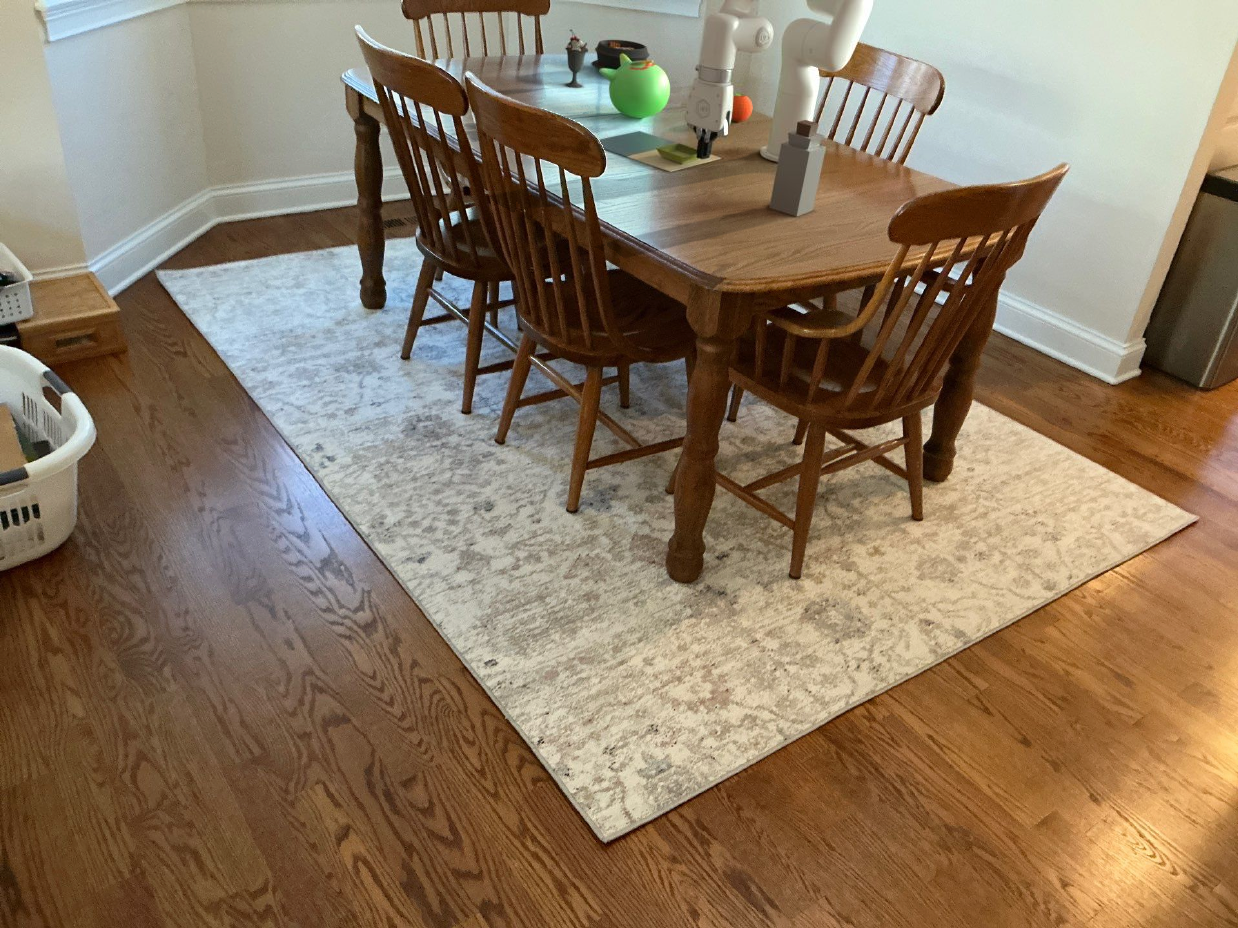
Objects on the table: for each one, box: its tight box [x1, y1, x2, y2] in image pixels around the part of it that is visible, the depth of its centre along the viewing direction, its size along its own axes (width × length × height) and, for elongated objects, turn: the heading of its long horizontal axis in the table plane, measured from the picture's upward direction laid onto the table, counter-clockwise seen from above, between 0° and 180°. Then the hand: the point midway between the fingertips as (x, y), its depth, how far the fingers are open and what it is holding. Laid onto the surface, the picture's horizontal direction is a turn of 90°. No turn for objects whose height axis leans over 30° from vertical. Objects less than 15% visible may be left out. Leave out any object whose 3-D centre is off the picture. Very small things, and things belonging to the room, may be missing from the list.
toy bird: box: [598, 54, 671, 119], centre depth 259 cm, size 18×17×15 cm
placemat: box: [598, 130, 722, 173], centre depth 236 cm, size 26×20×1 cm
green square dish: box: [656, 142, 700, 164], centre depth 232 cm, size 9×9×2 cm
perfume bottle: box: [768, 120, 827, 217], centre depth 204 cm, size 7×7×18 cm
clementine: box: [731, 93, 753, 123], centre depth 267 cm, size 8×7×7 cm
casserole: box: [590, 39, 650, 71], centre depth 304 cm, size 25×19×8 cm
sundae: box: [564, 29, 589, 89], centre depth 282 cm, size 7×7×15 cm
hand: (702, 157), depth 228 cm, fingers closed
